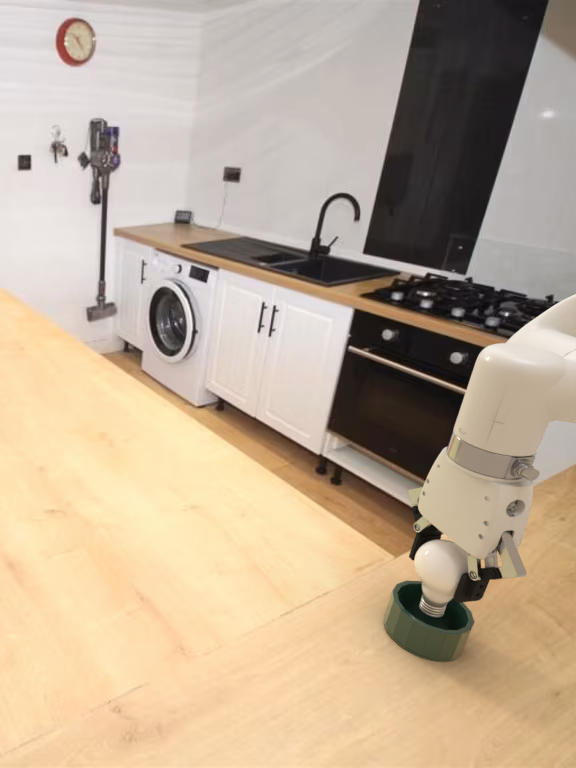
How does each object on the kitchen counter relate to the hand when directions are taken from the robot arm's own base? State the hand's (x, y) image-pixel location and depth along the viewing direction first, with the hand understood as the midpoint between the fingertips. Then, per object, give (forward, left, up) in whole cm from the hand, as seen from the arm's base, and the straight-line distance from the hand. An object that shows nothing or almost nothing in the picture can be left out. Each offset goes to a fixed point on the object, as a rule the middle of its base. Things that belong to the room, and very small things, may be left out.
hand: (442, 577), depth 67 cm
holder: (0, 0, -10) cm, 10 cm away
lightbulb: (0, 0, -6) cm, 6 cm away
